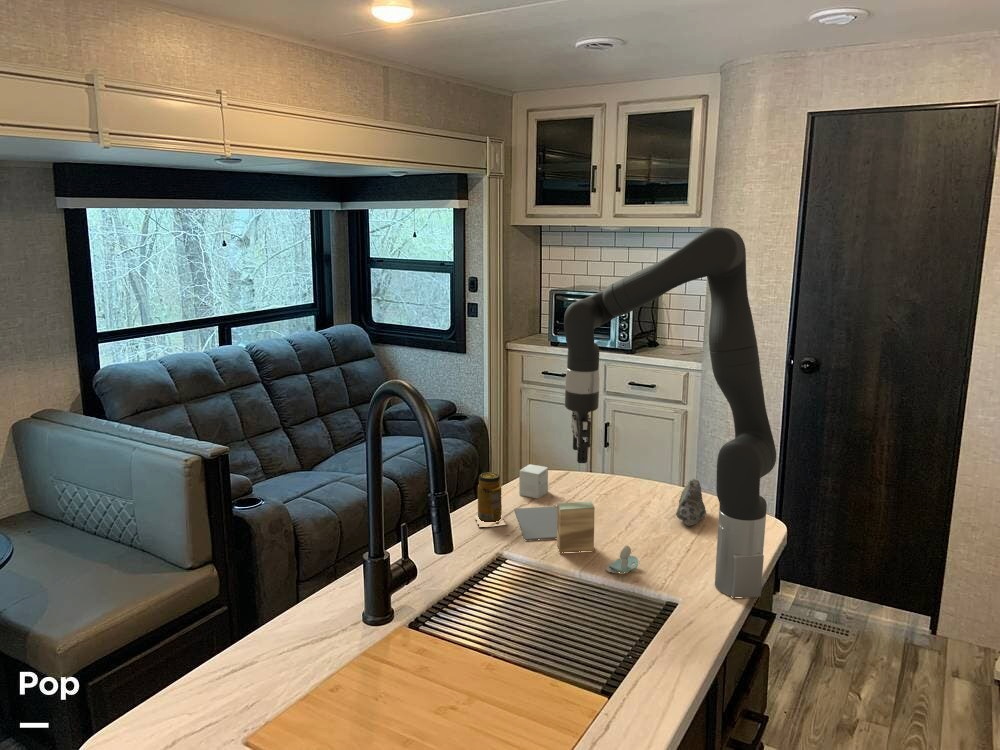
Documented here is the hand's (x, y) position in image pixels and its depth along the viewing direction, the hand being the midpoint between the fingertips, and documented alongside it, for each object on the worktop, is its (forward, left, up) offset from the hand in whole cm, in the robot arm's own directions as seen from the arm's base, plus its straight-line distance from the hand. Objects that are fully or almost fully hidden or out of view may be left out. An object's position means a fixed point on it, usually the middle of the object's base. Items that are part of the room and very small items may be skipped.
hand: (579, 456), depth 175 cm
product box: (+33, +5, -23) cm, 41 cm away
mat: (+14, +4, -23) cm, 27 cm away
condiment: (+17, +19, -23) cm, 35 cm away
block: (-2, +1, -23) cm, 23 cm away
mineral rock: (+12, -31, -23) cm, 40 cm away
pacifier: (-12, -7, -23) cm, 27 cm away
